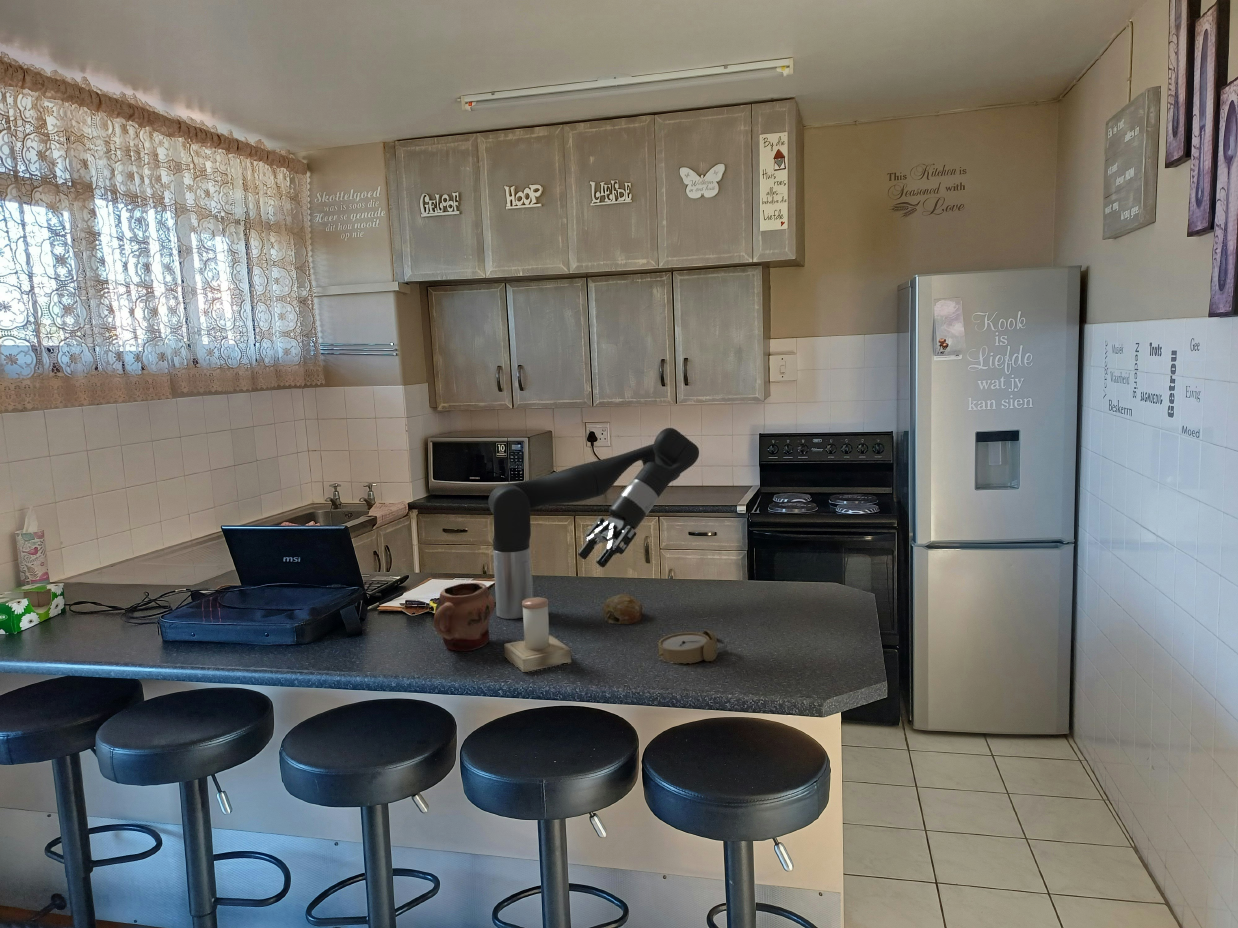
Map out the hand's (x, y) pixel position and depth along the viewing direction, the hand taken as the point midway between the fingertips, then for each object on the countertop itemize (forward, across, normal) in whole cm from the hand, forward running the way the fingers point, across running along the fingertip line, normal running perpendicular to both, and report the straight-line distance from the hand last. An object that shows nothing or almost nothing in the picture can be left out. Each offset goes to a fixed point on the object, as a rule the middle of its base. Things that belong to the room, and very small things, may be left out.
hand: (589, 561), depth 185 cm
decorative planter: (+31, +19, +2) cm, 37 cm away
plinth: (+24, +2, -6) cm, 24 cm away
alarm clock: (+3, -15, -26) cm, 31 cm away
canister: (+21, +2, -4) cm, 22 cm away
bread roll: (+3, +16, -27) cm, 31 cm away
